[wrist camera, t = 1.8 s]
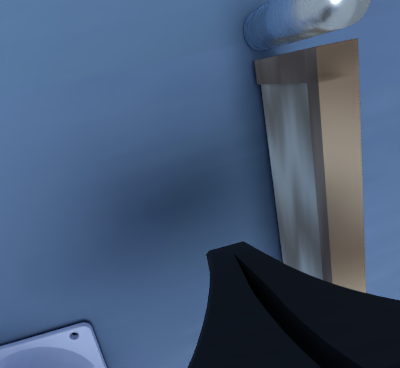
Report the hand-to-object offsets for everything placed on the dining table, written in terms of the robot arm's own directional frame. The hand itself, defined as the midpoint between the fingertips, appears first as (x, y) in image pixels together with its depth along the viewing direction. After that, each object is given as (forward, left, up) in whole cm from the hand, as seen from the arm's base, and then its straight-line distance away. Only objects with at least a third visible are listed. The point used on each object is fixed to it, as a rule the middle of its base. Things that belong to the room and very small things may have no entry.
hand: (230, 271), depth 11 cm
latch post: (+5, +8, -8) cm, 13 cm away
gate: (+5, -2, -8) cm, 10 cm away
